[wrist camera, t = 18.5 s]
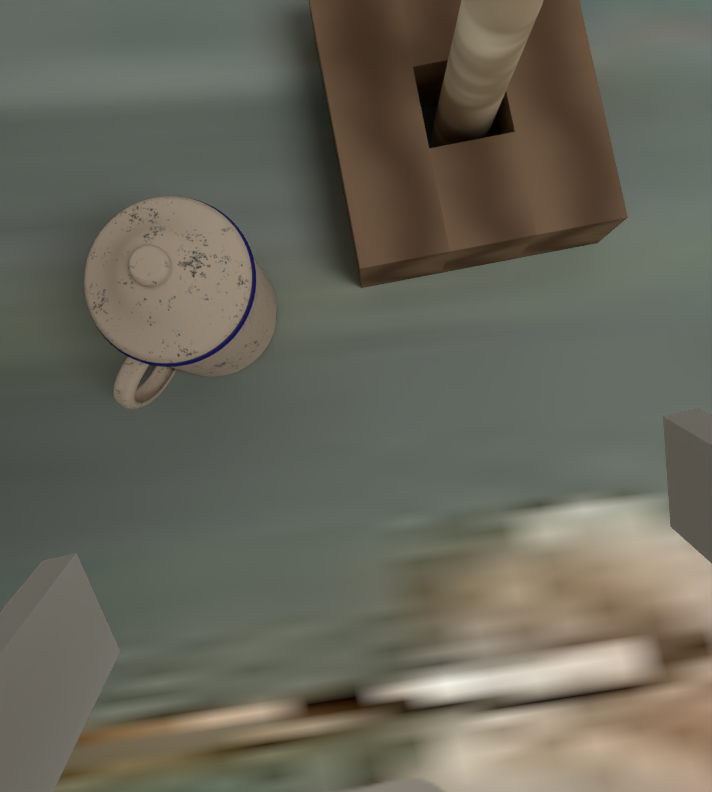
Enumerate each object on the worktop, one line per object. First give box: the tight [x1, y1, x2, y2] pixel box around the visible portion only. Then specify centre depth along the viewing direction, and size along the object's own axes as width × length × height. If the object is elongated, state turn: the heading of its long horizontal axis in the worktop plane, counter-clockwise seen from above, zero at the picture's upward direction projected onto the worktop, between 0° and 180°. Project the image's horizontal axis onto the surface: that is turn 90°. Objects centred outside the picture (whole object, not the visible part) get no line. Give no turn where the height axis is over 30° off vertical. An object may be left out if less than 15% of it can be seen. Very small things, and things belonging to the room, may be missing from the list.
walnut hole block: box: [309, 0, 628, 288], centre depth 36 cm, size 16×18×4 cm
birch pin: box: [431, 0, 543, 148], centre depth 32 cm, size 4×4×13 cm
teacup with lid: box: [84, 196, 277, 409], centre depth 33 cm, size 12×9×12 cm
